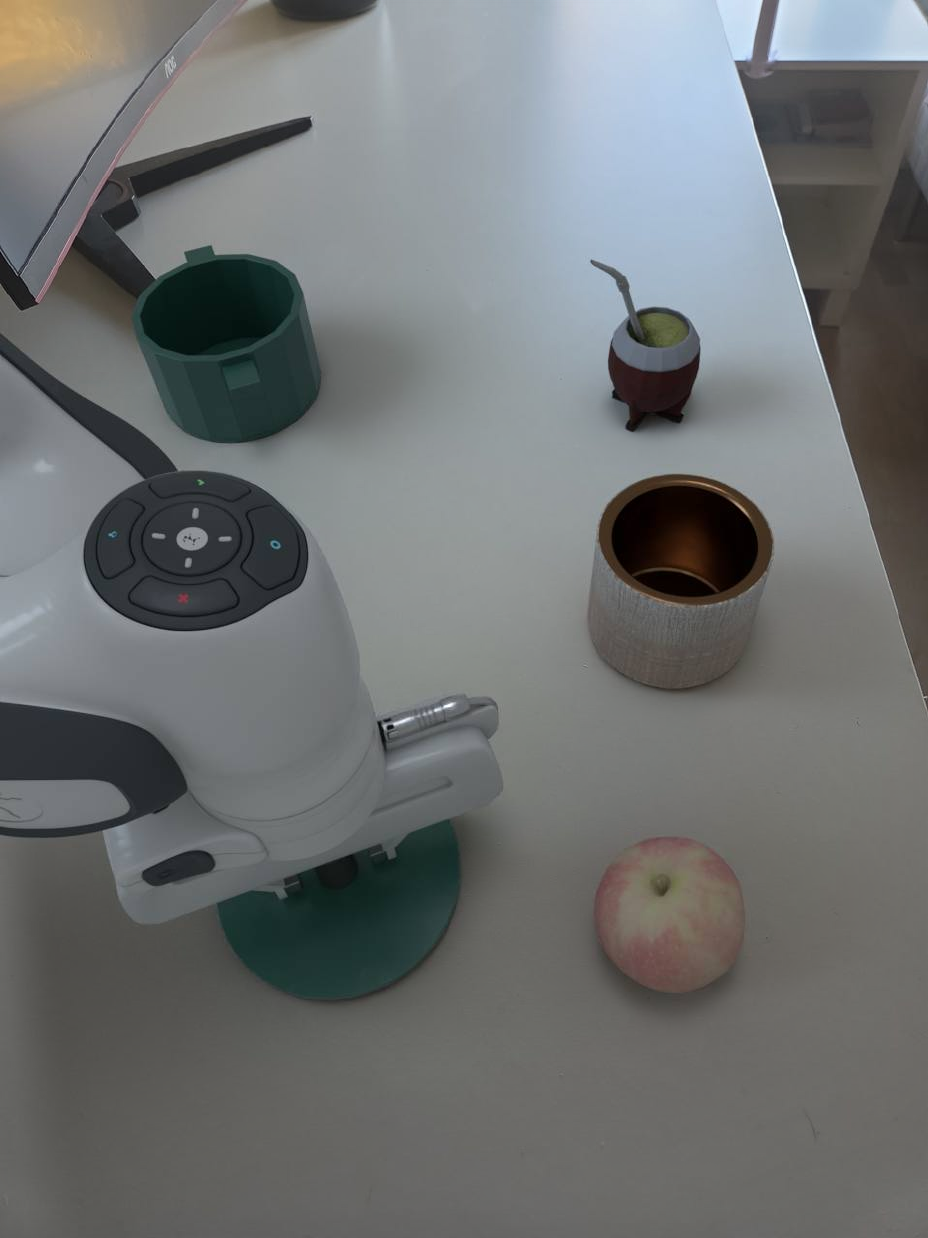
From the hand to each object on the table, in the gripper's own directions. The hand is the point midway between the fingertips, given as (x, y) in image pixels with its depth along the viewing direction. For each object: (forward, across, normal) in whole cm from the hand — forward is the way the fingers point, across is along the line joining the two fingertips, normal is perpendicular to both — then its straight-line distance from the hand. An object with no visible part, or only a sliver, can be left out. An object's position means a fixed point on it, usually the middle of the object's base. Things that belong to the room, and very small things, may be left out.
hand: (335, 866), depth 56 cm
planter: (+2, -26, -9) cm, 28 cm away
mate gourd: (+2, -34, -29) cm, 45 cm away
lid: (+1, 0, 0) cm, 1 cm away
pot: (+2, -4, -45) cm, 45 cm away
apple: (+2, -16, +10) cm, 19 cm away
